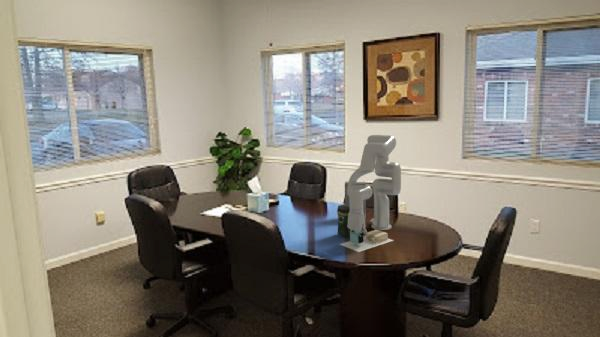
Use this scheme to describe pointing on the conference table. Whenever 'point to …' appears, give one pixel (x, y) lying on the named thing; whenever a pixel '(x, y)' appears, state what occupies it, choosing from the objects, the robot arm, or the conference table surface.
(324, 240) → the conference table surface
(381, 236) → the maple block
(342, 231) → the coffee jar
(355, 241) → the teal cube
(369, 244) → the felt mat
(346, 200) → the cassette tape recorder
